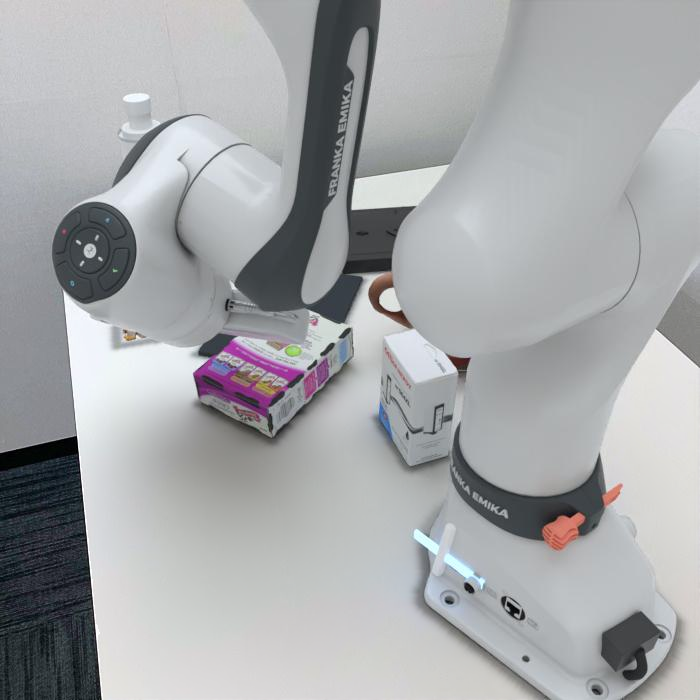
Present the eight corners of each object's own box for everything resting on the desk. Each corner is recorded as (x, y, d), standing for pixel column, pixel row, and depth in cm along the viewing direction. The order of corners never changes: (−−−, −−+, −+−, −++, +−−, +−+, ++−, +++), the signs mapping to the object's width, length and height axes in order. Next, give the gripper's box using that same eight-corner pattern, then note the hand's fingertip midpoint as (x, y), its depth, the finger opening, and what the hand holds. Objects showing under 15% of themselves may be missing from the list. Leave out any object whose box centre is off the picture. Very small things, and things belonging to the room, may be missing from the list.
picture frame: (455, 214, 122) (330, 223, 120) (456, 199, 120) (330, 207, 118) (480, 263, 110) (342, 273, 108) (482, 246, 108) (342, 256, 106)
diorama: (122, 328, 97) (119, 315, 96) (151, 324, 98) (148, 311, 97) (123, 341, 95) (120, 328, 94) (152, 337, 96) (150, 323, 95)
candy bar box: (272, 442, 81) (356, 357, 91) (266, 410, 77) (354, 325, 87) (197, 403, 86) (285, 326, 96) (189, 372, 83) (281, 296, 92)
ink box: (377, 416, 84) (379, 333, 76) (417, 406, 85) (422, 323, 78) (409, 469, 77) (414, 383, 70) (451, 456, 79) (461, 371, 71)
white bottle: (132, 252, 113) (97, 87, 97) (164, 234, 117) (135, 74, 102) (163, 265, 110) (132, 97, 94) (194, 246, 114) (170, 83, 99)
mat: (320, 374, 90) (320, 370, 89) (198, 354, 93) (197, 351, 92) (362, 279, 106) (362, 276, 106) (257, 266, 110) (257, 262, 109)
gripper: (296, 278, 65) (328, 308, 79) (87, 250, 69) (152, 283, 82) (283, 348, 64) (318, 366, 78) (73, 315, 68) (140, 338, 82)
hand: (231, 323), depth 80 cm, fingers closed
